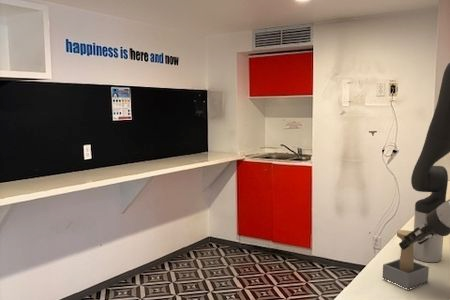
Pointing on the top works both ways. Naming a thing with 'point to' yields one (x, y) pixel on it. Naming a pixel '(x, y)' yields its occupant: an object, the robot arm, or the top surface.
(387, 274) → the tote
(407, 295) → the top surface
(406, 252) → the handle
